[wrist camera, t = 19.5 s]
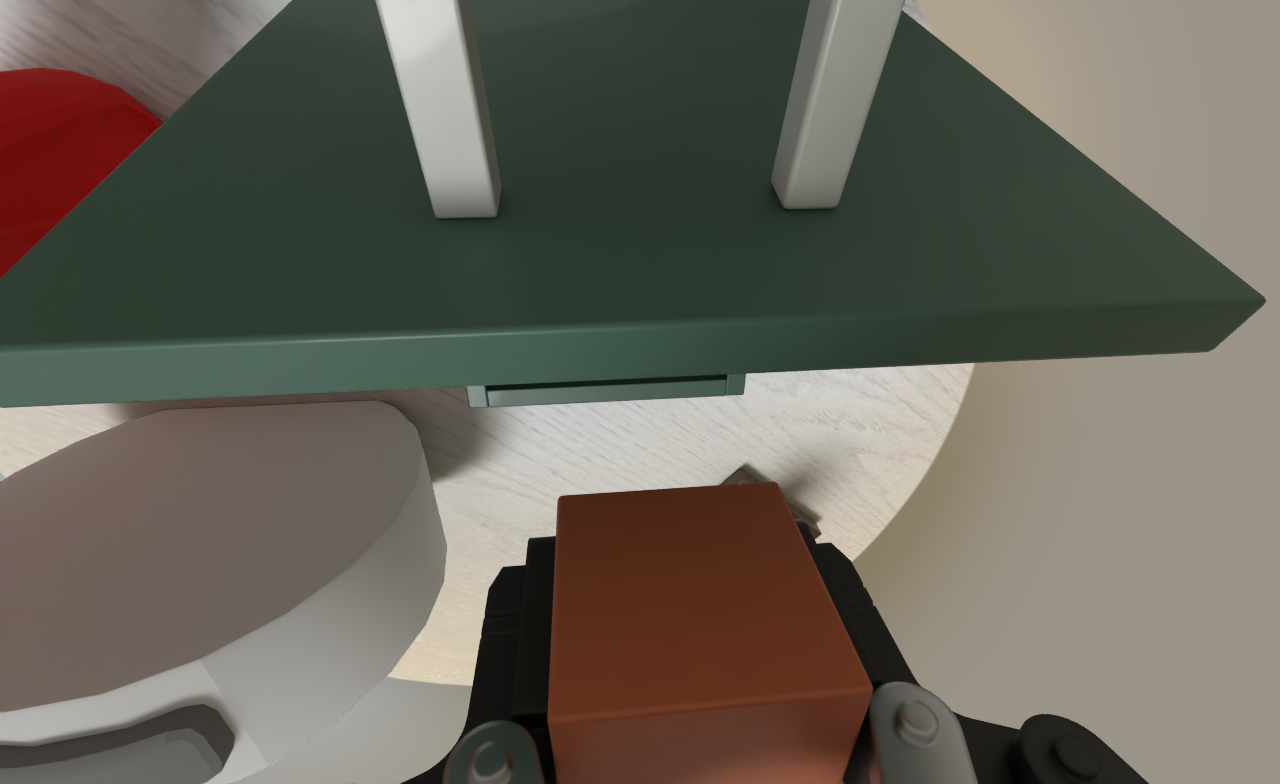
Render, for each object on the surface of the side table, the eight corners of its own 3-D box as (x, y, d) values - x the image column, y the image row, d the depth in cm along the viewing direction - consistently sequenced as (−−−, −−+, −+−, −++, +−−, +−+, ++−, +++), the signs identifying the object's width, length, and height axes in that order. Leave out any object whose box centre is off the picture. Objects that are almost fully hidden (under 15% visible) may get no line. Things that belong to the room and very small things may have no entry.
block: (777, 479, 11) (877, 690, 7) (755, 621, 13) (824, 838, 9) (557, 493, 10) (545, 722, 7) (572, 637, 13) (569, 868, 9)
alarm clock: (142, 507, 37) (-220, 881, 20) (86, 413, 33) (-420, 777, 17) (468, 488, 39) (384, 818, 22) (450, 396, 35) (331, 711, 18)
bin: (707, 320, 34) (743, 395, 27) (494, 328, 33) (469, 408, 26) (729, -20, 26) (793, -53, 18) (443, -23, 25) (382, -60, 17)
